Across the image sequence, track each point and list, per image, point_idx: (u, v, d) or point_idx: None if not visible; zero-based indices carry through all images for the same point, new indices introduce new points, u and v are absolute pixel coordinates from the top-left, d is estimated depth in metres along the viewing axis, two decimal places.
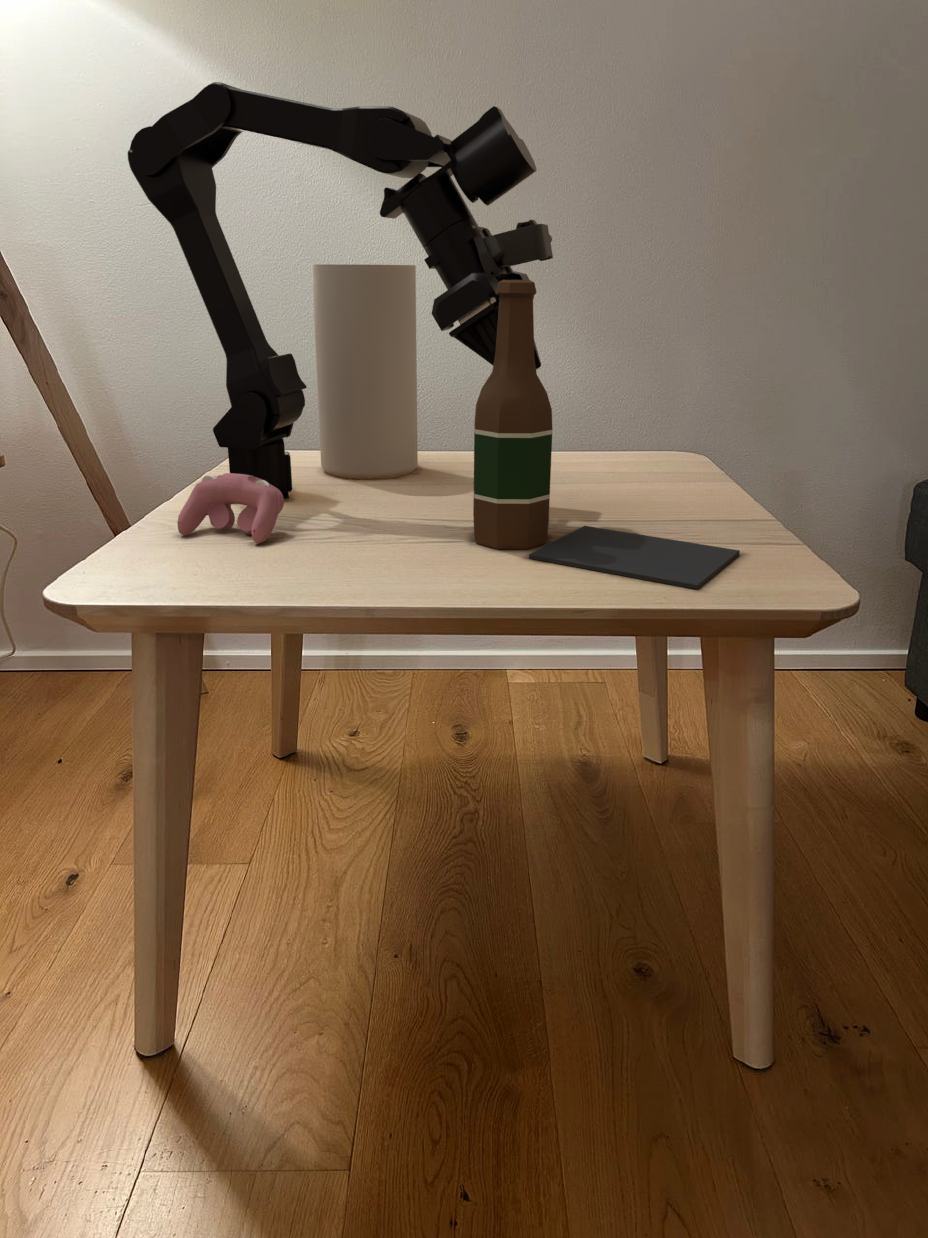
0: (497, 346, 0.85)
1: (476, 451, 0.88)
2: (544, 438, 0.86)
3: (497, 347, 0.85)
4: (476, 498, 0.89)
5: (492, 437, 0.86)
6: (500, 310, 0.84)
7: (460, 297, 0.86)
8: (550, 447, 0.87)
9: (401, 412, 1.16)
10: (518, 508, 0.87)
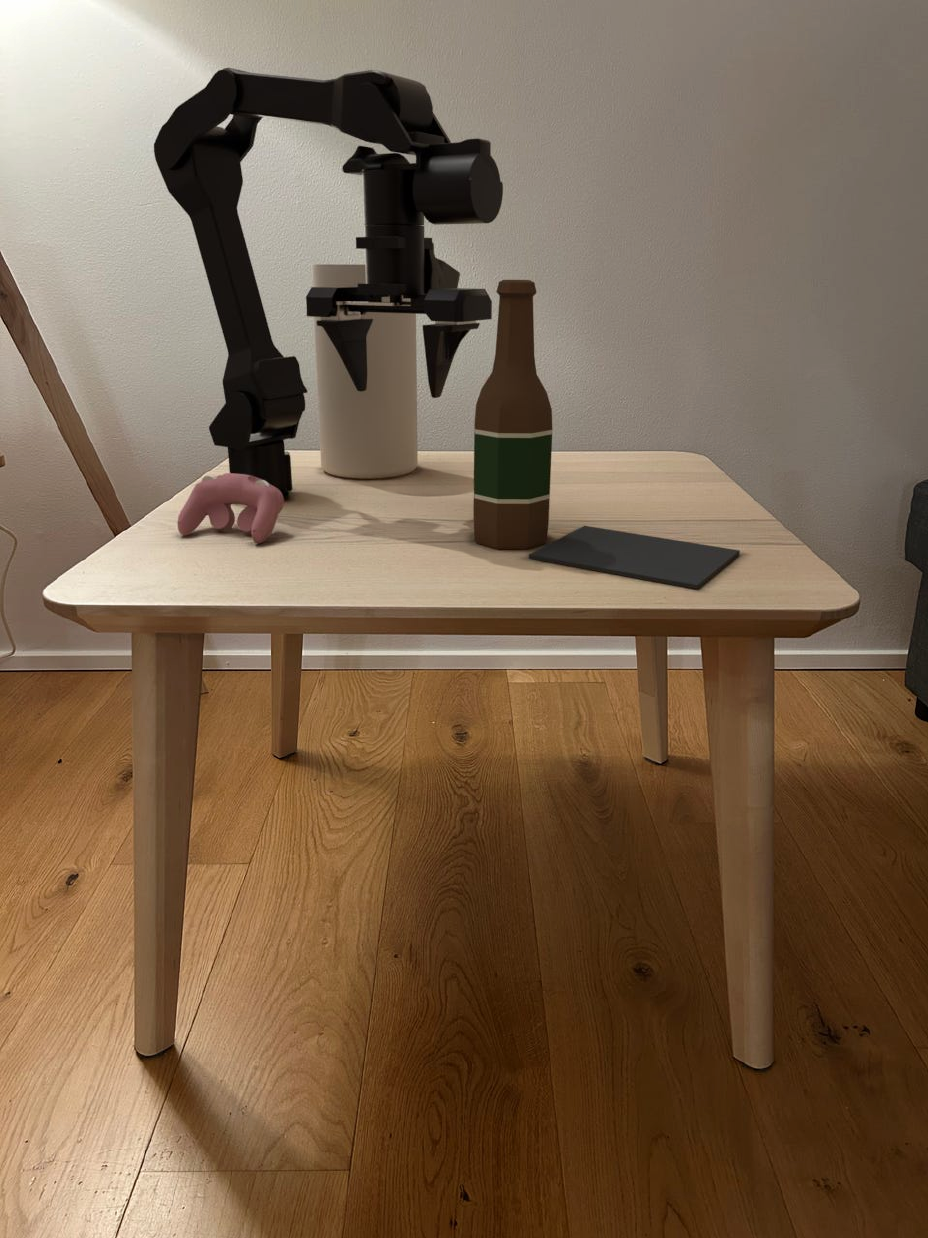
0: (497, 346, 0.85)
1: (476, 451, 0.88)
2: (544, 438, 0.86)
3: (497, 347, 0.85)
4: (476, 498, 0.89)
5: (492, 437, 0.86)
6: (500, 310, 0.84)
7: (479, 303, 0.87)
8: (550, 447, 0.87)
9: (401, 412, 1.16)
10: (518, 508, 0.87)
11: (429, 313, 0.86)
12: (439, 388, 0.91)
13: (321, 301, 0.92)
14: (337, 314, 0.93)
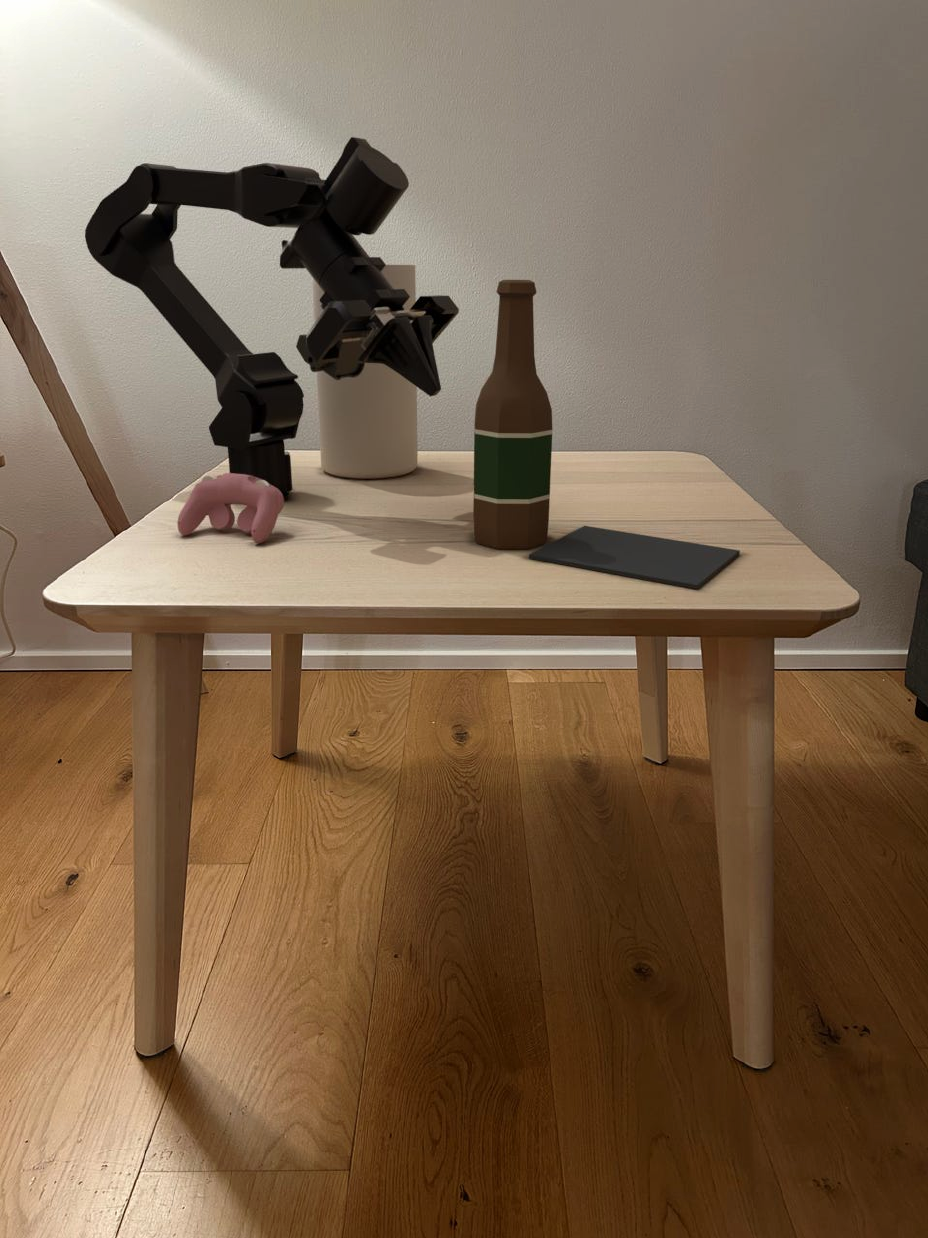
0: (497, 346, 0.85)
1: (476, 451, 0.88)
2: (544, 438, 0.86)
3: (497, 347, 0.85)
4: (476, 498, 0.89)
5: (492, 437, 0.86)
6: (500, 310, 0.84)
7: None
8: (550, 447, 0.87)
9: (401, 412, 1.16)
10: (518, 508, 0.87)
11: (440, 305, 0.95)
12: None
13: (358, 303, 0.85)
14: None
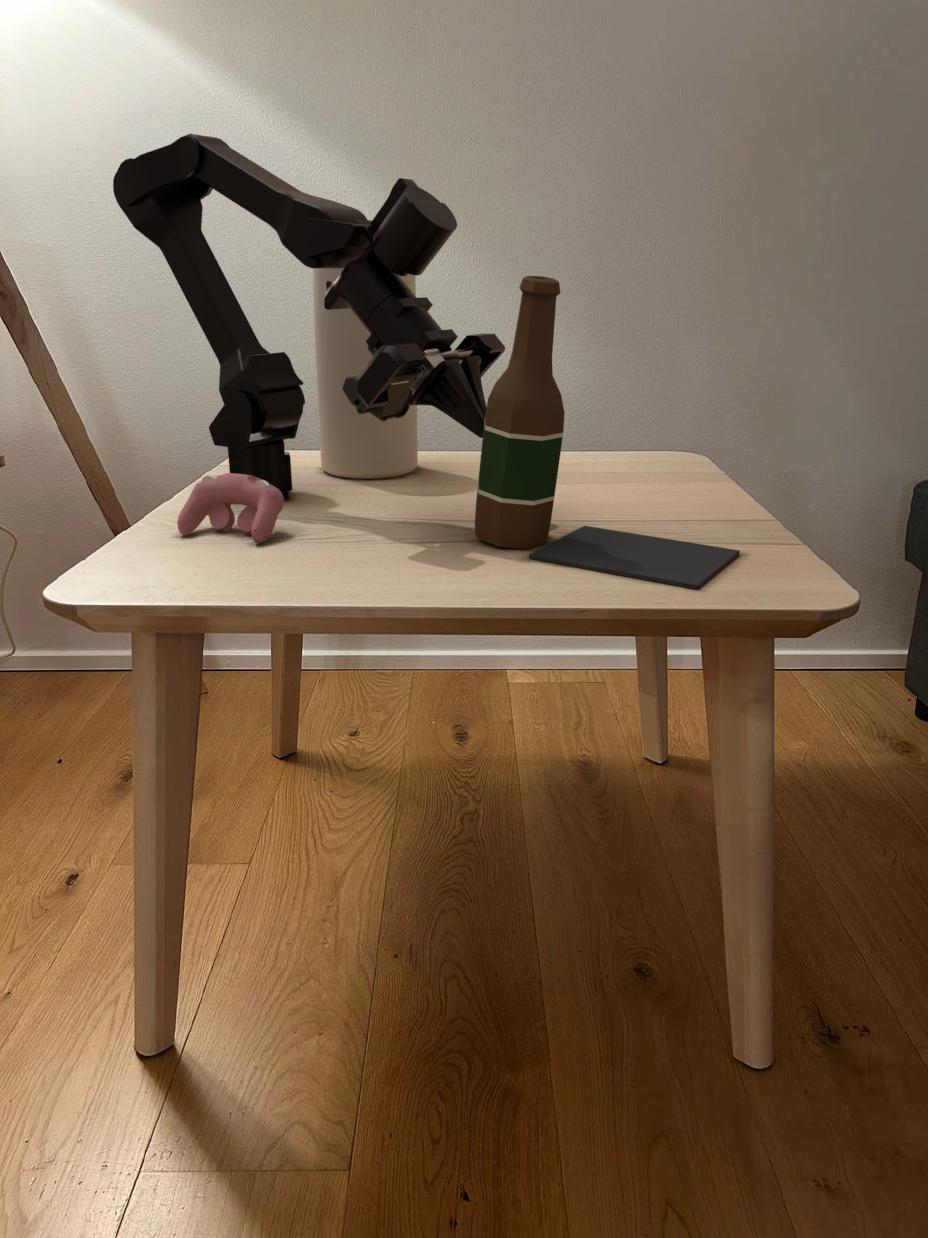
0: (515, 344, 0.83)
1: (485, 448, 0.87)
2: (554, 441, 0.86)
3: (515, 345, 0.83)
4: (480, 494, 0.89)
5: (502, 436, 0.85)
6: (522, 308, 0.82)
7: None
8: (559, 450, 0.87)
9: None
10: (522, 508, 0.87)
11: (487, 344, 0.94)
12: None
13: (409, 347, 0.84)
14: None
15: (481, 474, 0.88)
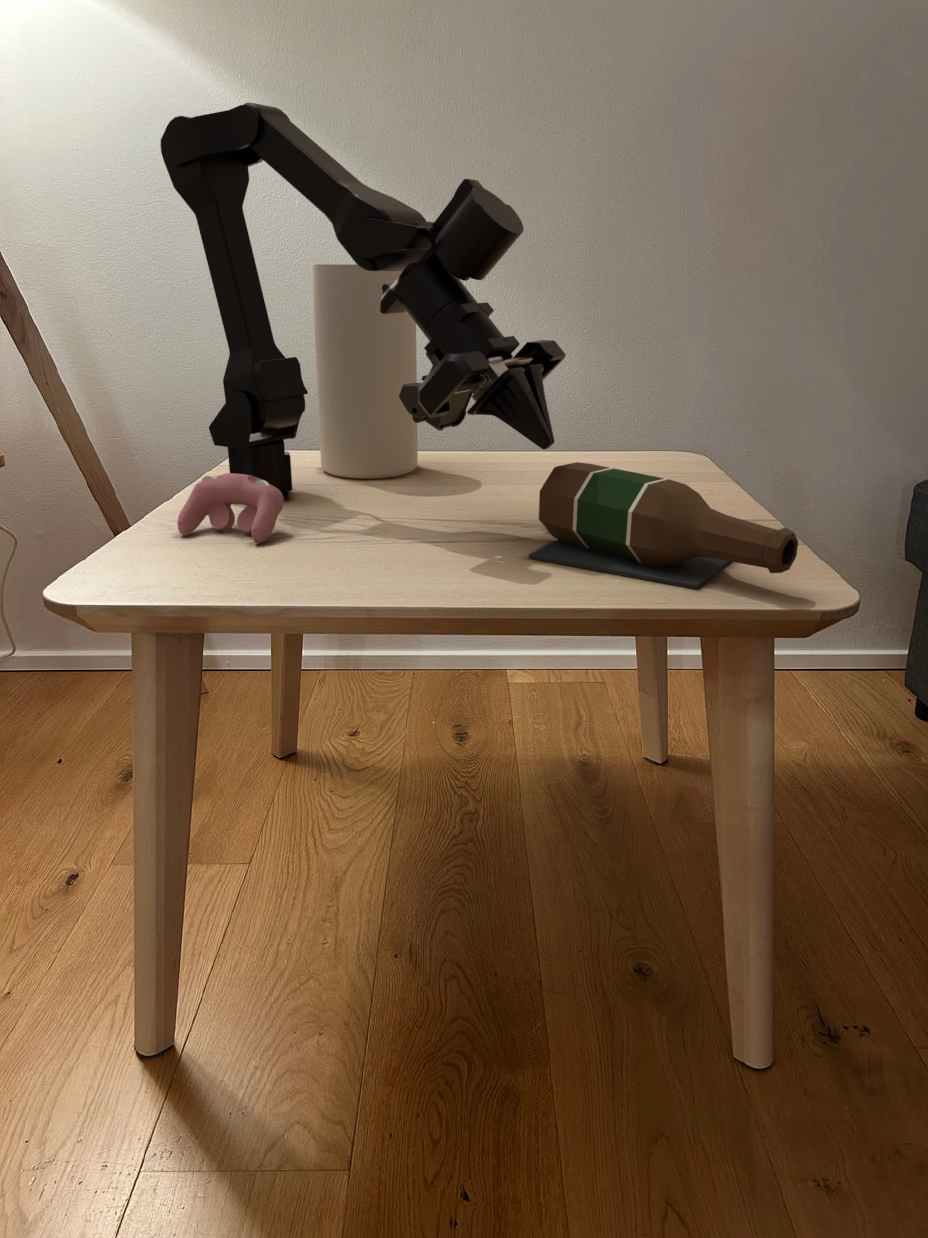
0: (724, 521, 0.78)
1: (628, 482, 0.83)
2: (631, 554, 0.84)
3: (723, 521, 0.78)
4: (589, 474, 0.86)
5: (631, 503, 0.81)
6: (757, 531, 0.76)
7: None
8: (627, 558, 0.85)
9: (401, 412, 1.16)
10: (569, 518, 0.86)
11: (548, 351, 0.91)
12: None
13: (475, 355, 0.81)
14: (507, 369, 0.85)
15: (605, 476, 0.85)
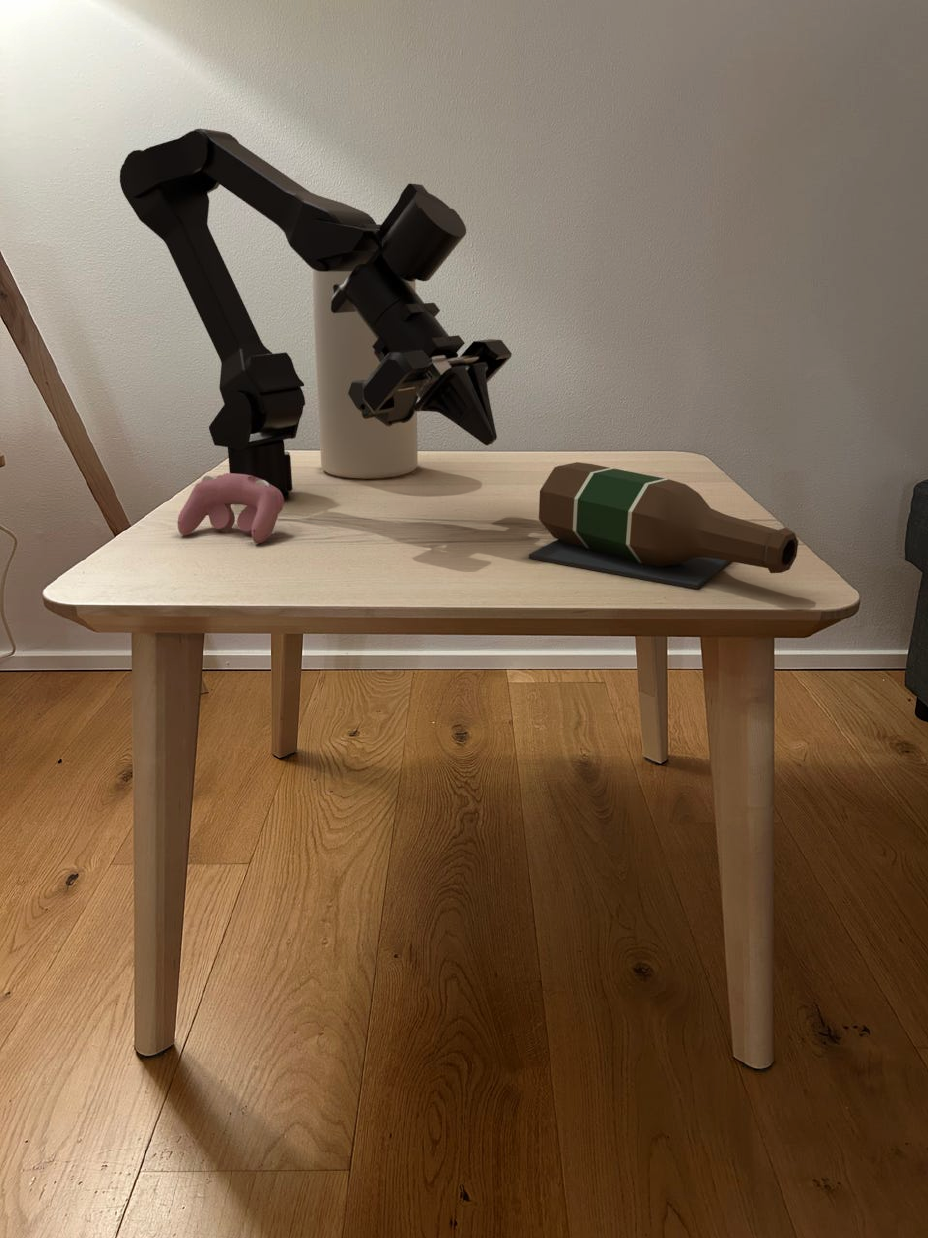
0: (724, 521, 0.78)
1: (628, 482, 0.83)
2: (631, 554, 0.84)
3: (723, 521, 0.78)
4: (589, 474, 0.86)
5: (631, 503, 0.81)
6: (758, 531, 0.76)
7: None
8: (627, 558, 0.85)
9: None
10: (569, 518, 0.86)
11: (494, 350, 0.94)
12: None
13: (416, 354, 0.84)
14: (451, 367, 0.88)
15: (606, 476, 0.85)
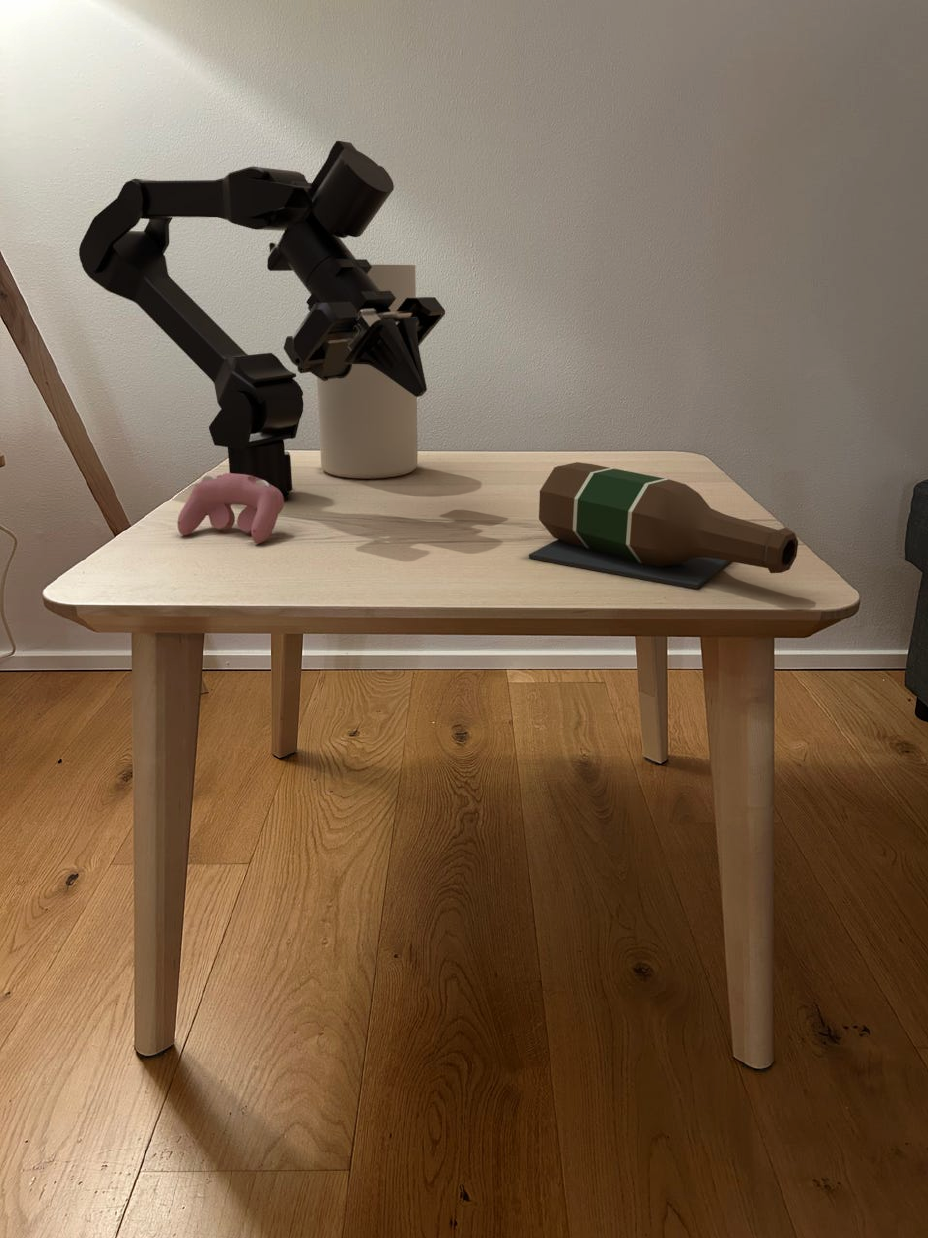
0: (724, 521, 0.78)
1: (628, 482, 0.83)
2: (631, 554, 0.84)
3: (723, 521, 0.78)
4: (589, 474, 0.86)
5: (631, 503, 0.81)
6: (758, 531, 0.76)
7: None
8: (627, 558, 0.85)
9: (401, 412, 1.16)
10: (569, 518, 0.86)
11: (426, 306, 0.96)
12: None
13: (343, 305, 0.86)
14: None
15: (606, 476, 0.85)
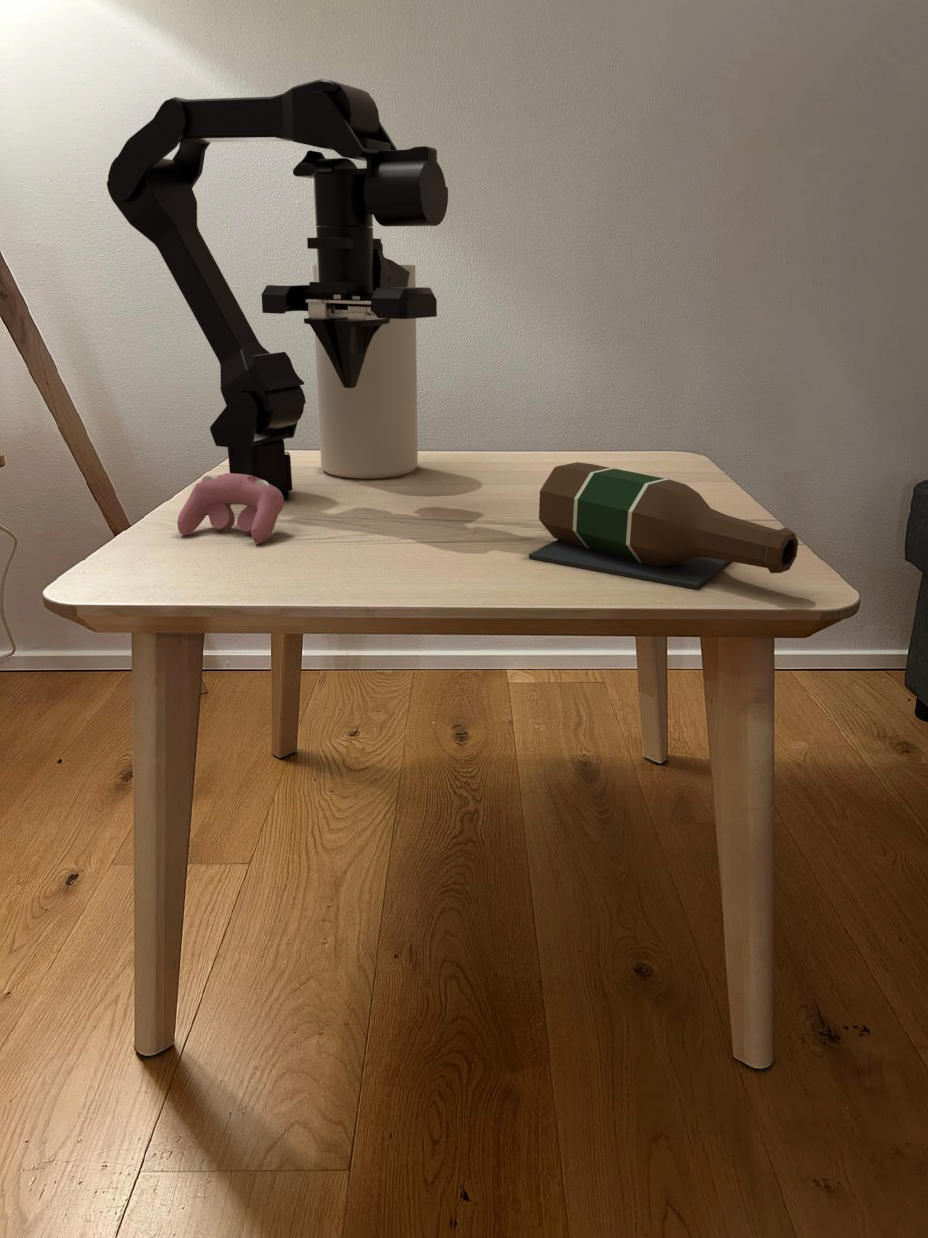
0: (724, 521, 0.78)
1: (628, 482, 0.83)
2: (631, 554, 0.84)
3: (723, 521, 0.78)
4: (589, 474, 0.86)
5: (631, 503, 0.81)
6: (758, 531, 0.76)
7: (423, 301, 0.91)
8: (627, 558, 0.85)
9: (401, 412, 1.16)
10: (569, 518, 0.86)
11: (375, 310, 0.91)
12: (354, 379, 0.98)
13: (276, 298, 0.97)
14: (324, 312, 0.95)
15: (606, 476, 0.85)
